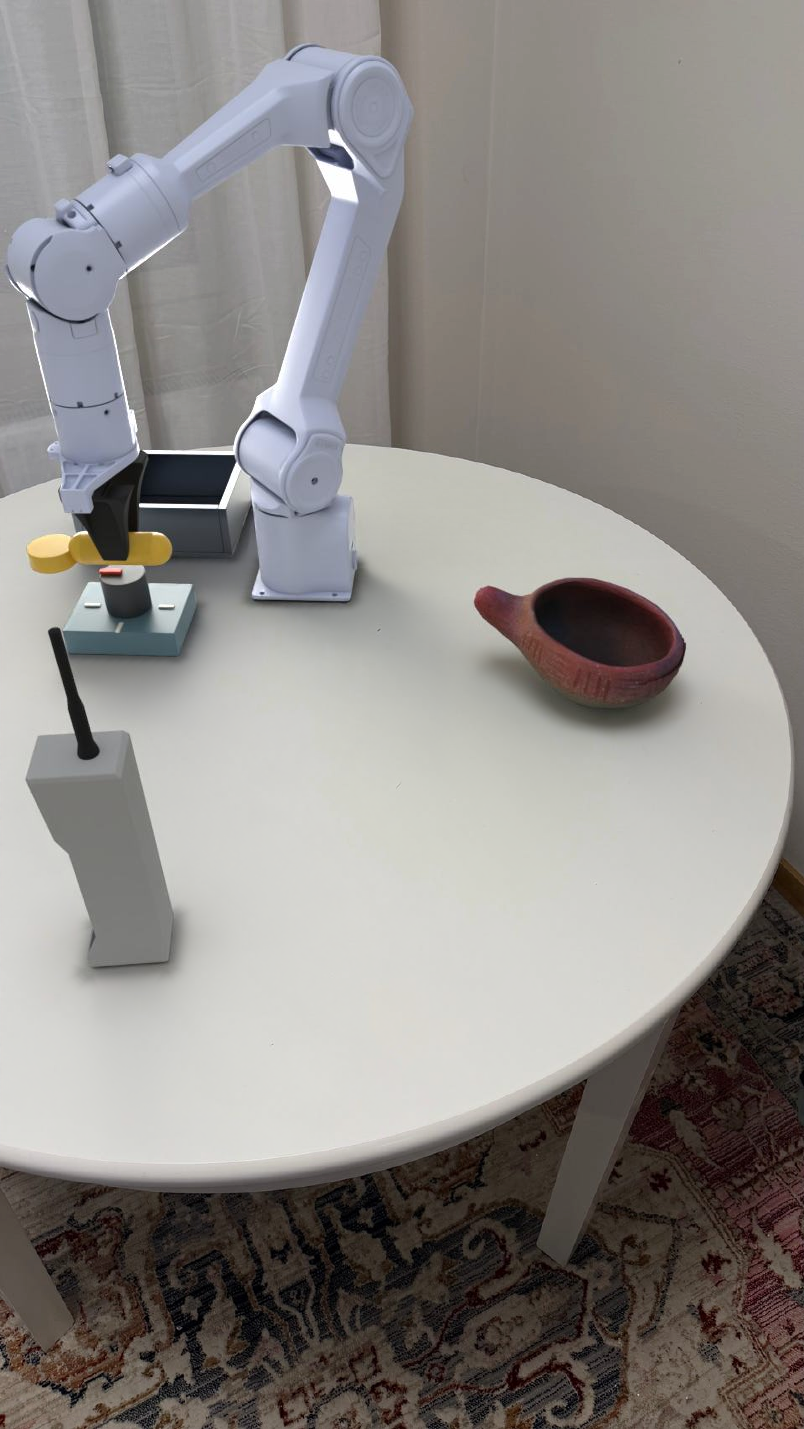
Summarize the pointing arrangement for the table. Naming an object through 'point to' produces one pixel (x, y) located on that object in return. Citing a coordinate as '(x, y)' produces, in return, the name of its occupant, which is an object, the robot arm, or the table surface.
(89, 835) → the vintage mobile phone
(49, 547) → the yellow disc and capsule
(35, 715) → the table surface
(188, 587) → the dial base
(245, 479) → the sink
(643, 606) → the bowl
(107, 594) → the rotary knob
